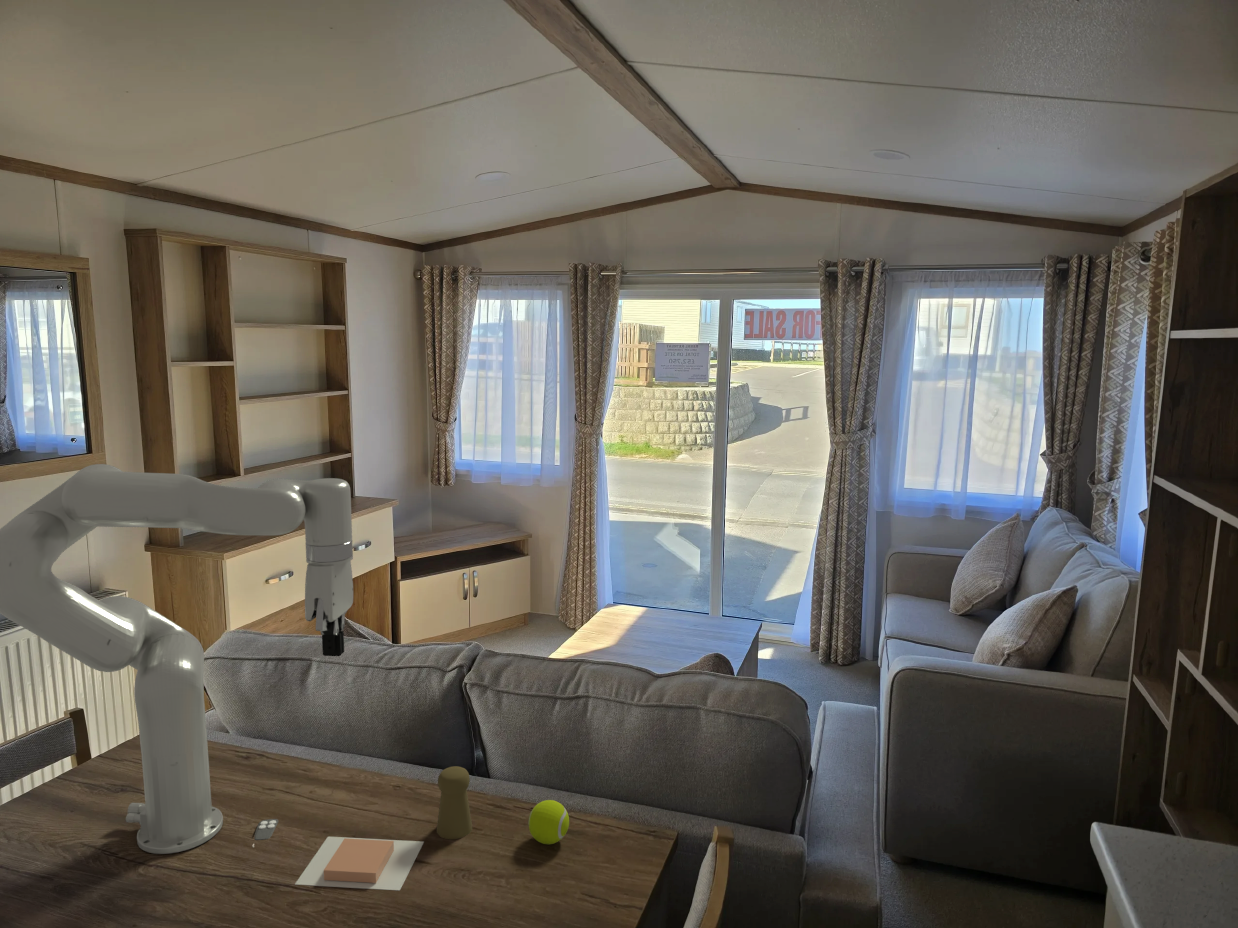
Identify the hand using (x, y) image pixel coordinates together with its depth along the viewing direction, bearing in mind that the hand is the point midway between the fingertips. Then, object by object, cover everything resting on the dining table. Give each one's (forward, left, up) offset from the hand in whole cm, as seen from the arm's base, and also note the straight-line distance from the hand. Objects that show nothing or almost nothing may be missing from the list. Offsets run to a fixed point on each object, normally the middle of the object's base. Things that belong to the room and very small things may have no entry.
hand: (333, 653), depth 144 cm
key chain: (-7, -14, -28) cm, 32 cm away
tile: (+11, -15, -26) cm, 31 cm away
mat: (+11, -18, -27) cm, 34 cm away
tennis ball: (+39, -9, -27) cm, 48 cm away
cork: (+23, -8, -27) cm, 37 cm away
